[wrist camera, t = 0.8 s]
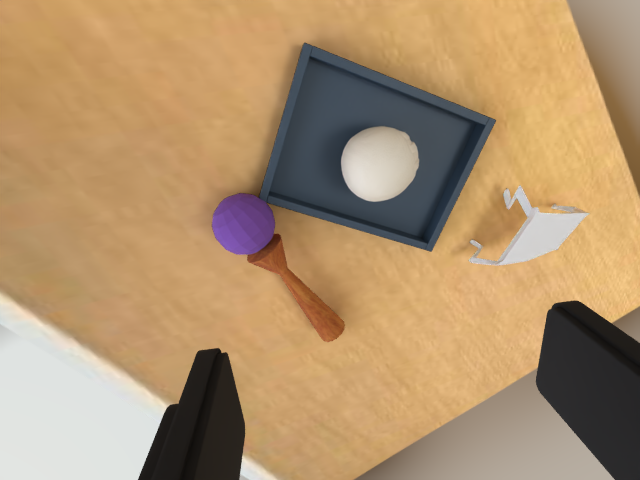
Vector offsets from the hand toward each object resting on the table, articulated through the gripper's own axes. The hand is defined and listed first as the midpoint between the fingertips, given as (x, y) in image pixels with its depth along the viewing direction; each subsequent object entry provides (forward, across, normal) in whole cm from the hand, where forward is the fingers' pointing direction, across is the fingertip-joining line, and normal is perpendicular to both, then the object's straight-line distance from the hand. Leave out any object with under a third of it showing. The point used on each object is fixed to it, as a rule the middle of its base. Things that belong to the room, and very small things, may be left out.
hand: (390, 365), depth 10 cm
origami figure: (+29, -21, +8) cm, 37 cm away
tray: (+28, -6, -1) cm, 29 cm away
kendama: (+29, +5, +10) cm, 31 cm away
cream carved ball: (+28, -6, -1) cm, 29 cm away
